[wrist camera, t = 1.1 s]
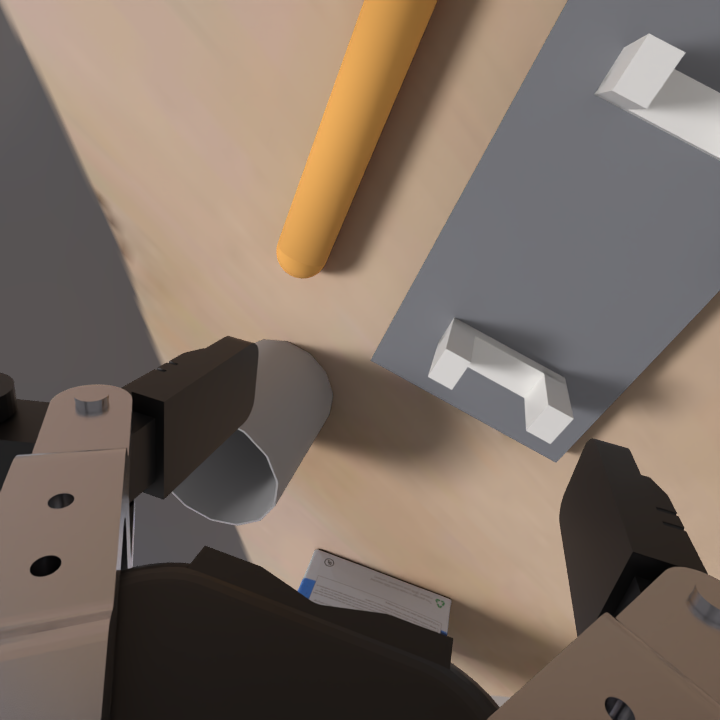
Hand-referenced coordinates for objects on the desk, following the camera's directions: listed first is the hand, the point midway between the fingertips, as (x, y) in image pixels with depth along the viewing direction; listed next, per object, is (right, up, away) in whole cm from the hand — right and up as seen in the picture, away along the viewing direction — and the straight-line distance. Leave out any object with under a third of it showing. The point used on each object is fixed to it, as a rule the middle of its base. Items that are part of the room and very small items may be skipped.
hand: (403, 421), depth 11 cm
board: (+11, +8, +15) cm, 21 cm away
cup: (-7, -1, +26) cm, 27 cm away
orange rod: (0, +16, +15) cm, 22 cm away
